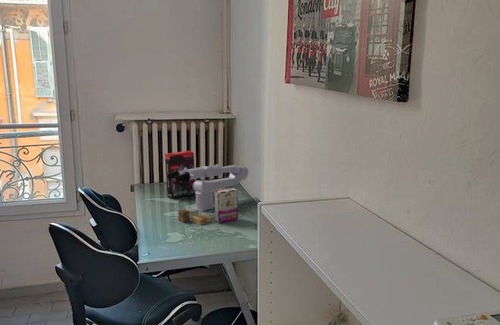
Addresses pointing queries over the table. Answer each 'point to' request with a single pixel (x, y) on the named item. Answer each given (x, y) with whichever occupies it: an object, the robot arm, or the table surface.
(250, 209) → the table surface
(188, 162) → the graphics card box
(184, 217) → the walnut block
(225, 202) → the candy bar box
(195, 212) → the sage block
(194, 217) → the oak slab
